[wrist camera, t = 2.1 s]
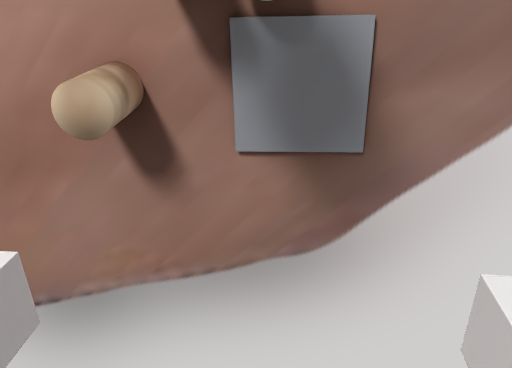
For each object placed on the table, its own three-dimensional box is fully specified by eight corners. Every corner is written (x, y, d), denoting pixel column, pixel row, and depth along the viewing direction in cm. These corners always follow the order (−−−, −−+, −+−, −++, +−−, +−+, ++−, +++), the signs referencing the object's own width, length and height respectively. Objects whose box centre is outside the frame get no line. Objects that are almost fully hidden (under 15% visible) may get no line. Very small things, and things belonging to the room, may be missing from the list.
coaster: (236, 148, 38) (235, 151, 37) (230, 17, 33) (229, 17, 33) (361, 149, 37) (363, 152, 36) (374, 14, 32) (375, 14, 32)
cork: (98, 112, 38) (59, 140, 31) (88, 61, 36) (44, 80, 29) (147, 112, 37) (116, 140, 31) (139, 61, 35) (105, 79, 29)
